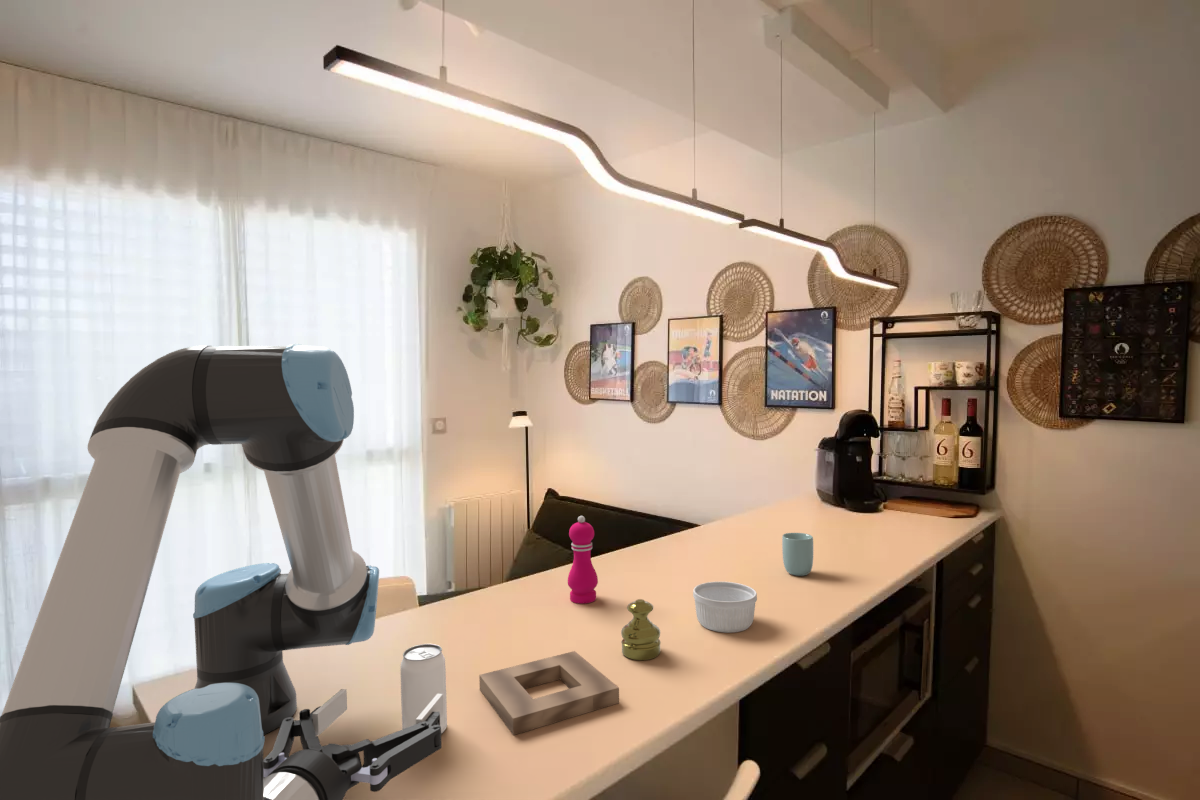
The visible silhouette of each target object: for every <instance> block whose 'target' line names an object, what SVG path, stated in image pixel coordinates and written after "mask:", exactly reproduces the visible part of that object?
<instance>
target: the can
mask: <svg viewBox="0 0 1200 800" xmlns="http://www.w3.org/2000/svg"><path fill="white" fill-rule="evenodd" d="M442 648H443V647H442V646H441V645H438V644H435V643H434V644H433V643H421V644H418V645H417V644H416V645H413V646H410V647H409V648H407V649H405V650H404V651H403V653H402V656H403V658H402V660H401V662H400V668H399V669H400V670H399V671H400V697H401V698H400V702H401V730H402V729H405V728H407V727H410V726H413V725H415V724H416V718H417V717H418V716H419V715H420V714H421V712H422V711H423V710H424V709H425V708H426V707H427V705H428V704H429V703H430V702H431V701H432V699H433V698H434V697H435V696H436V695H437V694H443V716H442V717H441V718H440V726H441V735H442V734H443V733H444V732H445V730H447V727H448V711H447V710H448V709H447V708H448V707H447V705H448V704H447V703H448V702H447V674H446V673H447V671H446V669H447V668H446V658H445V655H444V653H443V652H442V651H443V649H442Z"/></svg>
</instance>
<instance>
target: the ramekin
mask: <svg viewBox="0 0 1200 800" xmlns="http://www.w3.org/2000/svg"><path fill="white" fill-rule="evenodd" d="M757 595H758V594H757V591H756V590H755V589H754V588H752V587H751V586H748V585H746V584H744V583H743V584H742V583H738V582H732V581H707V582H703V583H700V584H697V585H696V586H694V588H693V590H692V596H693V599H694V605H695V615H696V619H697V621H698V622H699V624H700V625H701V626H702V627H703V628H704V629H708V630H709V631H713V632H717V633H728V634H729V633H738V632H739V633H741V632H743V631H746V630H747V629H749V628H750V627H751V625H752V624H753V622H754V617H755V610H756V608H755V607H756V602H757V600H758V596H757Z"/></svg>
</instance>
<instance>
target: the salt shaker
mask: <svg viewBox="0 0 1200 800" xmlns="http://www.w3.org/2000/svg"><path fill="white" fill-rule="evenodd" d="M626 606H627V607H626V609H627V611H628V612H630V613H631V614H632V616H633V617H632V619H631V620H630V621H628V623H627V624H625V625H624V626H623V627H622V628H621V631H620V632H621V633H620V634H621V637H622V639H621V653H622V655H623V656H624V657H626V658H628V659H631V660H636V661H647V660H649V661H650V660H652V659H655V658H657V657H658V656H659V655H660V654H661V643H662V642H661V640H660V637H661V629H660V627H659V626H657V624H654V623H653V621H651V620H650V619H649V617H648V616H649V614H650V613H651V612H653V611H654V605H653V604H652V603H651V602H649V601H646V600H644V599H641V598H639V599H636V600H634V601H632V602H629V603H628V604H627V605H626Z"/></svg>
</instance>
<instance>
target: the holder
mask: <svg viewBox="0 0 1200 800" xmlns="http://www.w3.org/2000/svg"><path fill="white" fill-rule="evenodd" d="M478 677H479V691H480V692H481V693H482V695H483V696H484V698H485V699H486V700H487V701H488V702H489V704H490V705H491V707H492V708H493V710H494V711H495V712H496V714H497V716H498V717H500V719H501V720H502V722H503V723H504V724H505V726H506V727H507V729H508V730H509V732H510V733H511V734H512V735H513V736H515V735H519V734H522V733H525V732H529V731H533V730H535V729H538V728H542V727H546V726H548V725H552V724H555V723H558V722H562V721H565V720H569V719H572V718H574V717H578V716H581V715H585V714H588V713H591V712H593V711H597V710H601V709H603V708H607V707H611V706H614V705H616V704H620V687H619V686H617V685H616V684H615V683H614V682H613V681H612V680H610V679H609V677H607V676H606V675H604V674H603V673H602V672H601V671H600V670H598V669H597V668H596V667H595V666H594V665H593V664H591V663H590V661H587V660H586V659H585V658H584V657H583V656H582V655H580V654H579V653H578V652H577V651H575V650H574V651H573V650H572V651H569V652H565V653H562V654H557V655H553V656H550V657H545V658H542V659H537V660H533V661H529V662H526V663H525V662H524V663H522V664H518V665H513V666H509V667H506V668H500V669H497V670H494V671H489V672H485V673H482V674H479V675H478ZM559 680H560V681H561V682H562V683H564V684H565V685H566V686H567V687H568V688H567V689H565V690H559V691H557V692H554V693H550V694H545V695H543V696H539V697H536V698H533V697H532V696H531V695H530V693H528V691H527V690H526V689H530V688H533V687H536V686H540V685H544V684H547V683H551V682H555V681H559Z"/></svg>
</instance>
